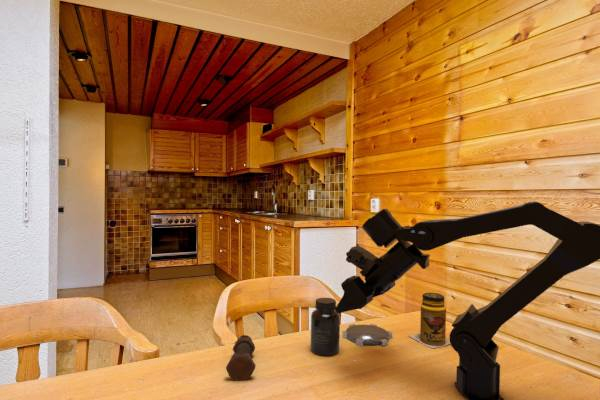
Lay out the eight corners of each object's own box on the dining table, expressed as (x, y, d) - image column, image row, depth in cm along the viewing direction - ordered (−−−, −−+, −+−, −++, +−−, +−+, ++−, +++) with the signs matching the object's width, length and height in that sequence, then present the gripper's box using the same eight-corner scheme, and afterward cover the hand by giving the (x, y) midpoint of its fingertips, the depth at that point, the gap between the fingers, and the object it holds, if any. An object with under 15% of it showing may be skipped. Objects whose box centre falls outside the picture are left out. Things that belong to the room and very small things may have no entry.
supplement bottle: (319, 342, 90) (320, 294, 90) (344, 348, 86) (345, 299, 86) (305, 351, 84) (305, 301, 84) (331, 359, 81) (331, 306, 80)
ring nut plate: (384, 328, 100) (385, 323, 100) (398, 346, 88) (398, 341, 88) (339, 328, 100) (339, 323, 100) (346, 346, 88) (346, 341, 88)
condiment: (433, 349, 87) (434, 300, 87) (407, 336, 95) (408, 291, 94) (453, 343, 91) (454, 296, 90) (427, 332, 98) (428, 288, 98)
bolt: (248, 356, 86) (244, 388, 71) (229, 346, 86) (221, 376, 71) (260, 335, 86) (259, 362, 71) (242, 324, 86) (237, 349, 71)
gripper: (383, 231, 87) (341, 271, 93) (351, 239, 71) (303, 285, 78) (415, 268, 83) (369, 306, 89) (388, 285, 67) (335, 330, 73)
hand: (345, 305), depth 82 cm, fingers open, 9 cm apart
